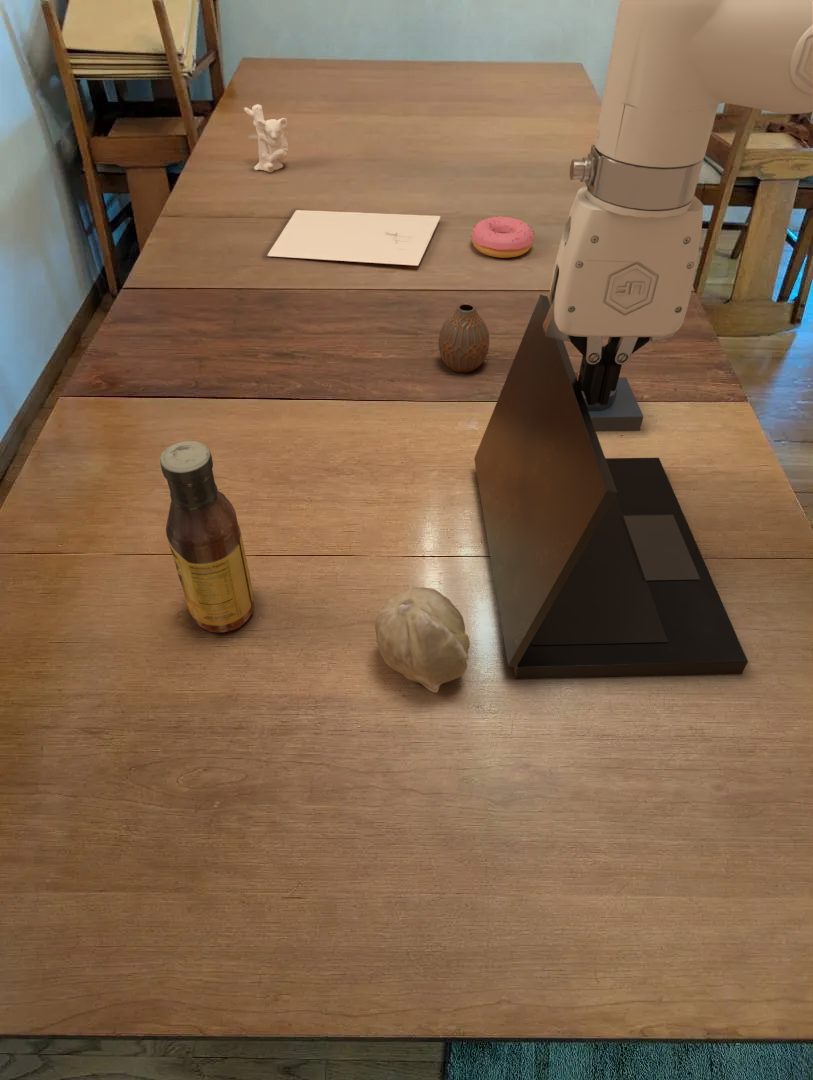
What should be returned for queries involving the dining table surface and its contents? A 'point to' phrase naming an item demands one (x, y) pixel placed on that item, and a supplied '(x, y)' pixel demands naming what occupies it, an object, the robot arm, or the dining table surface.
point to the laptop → (636, 594)
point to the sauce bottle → (205, 541)
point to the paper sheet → (356, 237)
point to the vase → (464, 339)
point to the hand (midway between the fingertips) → (594, 396)
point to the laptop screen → (539, 482)
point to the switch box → (616, 410)
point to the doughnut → (502, 237)
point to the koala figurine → (269, 139)
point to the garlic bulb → (423, 637)
